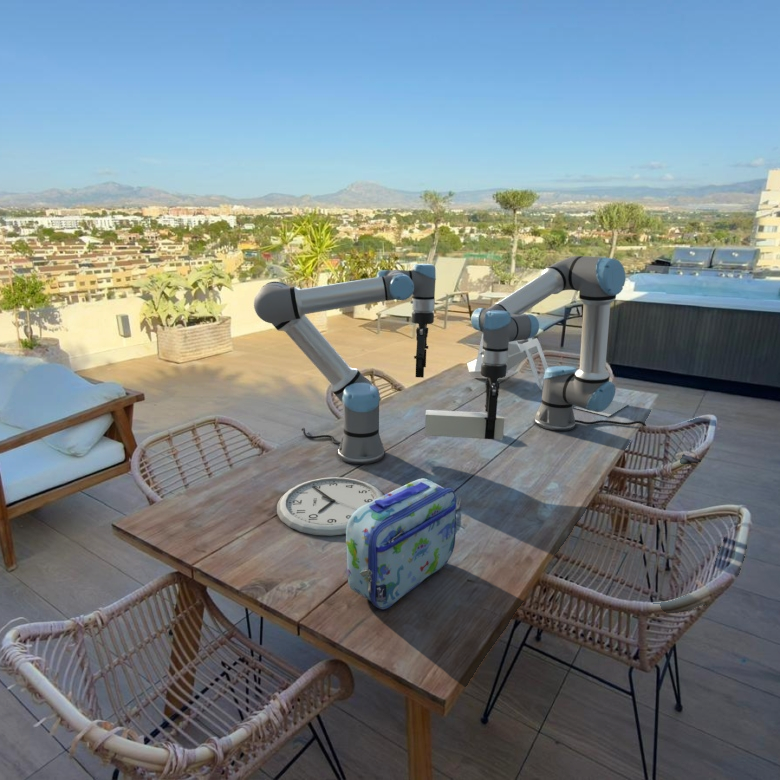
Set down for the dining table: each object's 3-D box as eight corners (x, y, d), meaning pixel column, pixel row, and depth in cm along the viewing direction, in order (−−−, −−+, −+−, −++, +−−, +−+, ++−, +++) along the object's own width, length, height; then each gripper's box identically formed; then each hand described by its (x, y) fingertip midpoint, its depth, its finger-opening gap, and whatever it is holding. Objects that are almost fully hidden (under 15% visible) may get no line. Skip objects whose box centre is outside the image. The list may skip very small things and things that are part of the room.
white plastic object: (488, 419, 266) (468, 396, 241) (469, 346, 288) (449, 319, 263) (559, 395, 254) (545, 368, 229) (533, 321, 276) (519, 290, 251)
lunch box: (375, 622, 100) (376, 527, 94) (339, 595, 108) (338, 505, 101) (459, 565, 118) (465, 481, 112) (424, 545, 125) (427, 465, 119)
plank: (501, 434, 165) (503, 413, 163) (502, 439, 161) (504, 418, 159) (425, 430, 168) (426, 409, 166) (424, 435, 164) (425, 414, 161)
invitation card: (608, 416, 214) (573, 407, 224) (608, 416, 214) (573, 407, 224) (627, 404, 229) (594, 396, 238) (627, 405, 229) (594, 397, 239)
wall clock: (392, 527, 129) (269, 531, 127) (392, 533, 130) (269, 537, 127) (383, 473, 158) (282, 475, 155) (383, 478, 158) (283, 480, 156)
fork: (437, 530, 132) (438, 523, 131) (452, 500, 146) (452, 494, 145) (447, 532, 131) (448, 525, 130) (461, 502, 145) (462, 496, 144)
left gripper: (414, 305, 188) (412, 362, 195) (408, 316, 165) (406, 381, 171) (435, 306, 188) (433, 363, 194) (432, 317, 164) (429, 382, 170)
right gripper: (480, 355, 165) (475, 424, 172) (482, 370, 148) (477, 445, 155) (504, 356, 164) (498, 425, 171) (509, 371, 148) (503, 447, 155)
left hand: (420, 371), depth 183 cm, fingers open, 13 cm apart
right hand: (488, 435), depth 163 cm, fingers closed on plank, 4 cm apart
